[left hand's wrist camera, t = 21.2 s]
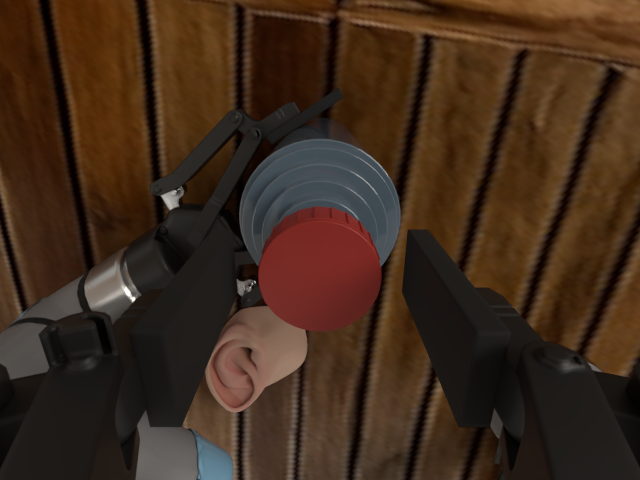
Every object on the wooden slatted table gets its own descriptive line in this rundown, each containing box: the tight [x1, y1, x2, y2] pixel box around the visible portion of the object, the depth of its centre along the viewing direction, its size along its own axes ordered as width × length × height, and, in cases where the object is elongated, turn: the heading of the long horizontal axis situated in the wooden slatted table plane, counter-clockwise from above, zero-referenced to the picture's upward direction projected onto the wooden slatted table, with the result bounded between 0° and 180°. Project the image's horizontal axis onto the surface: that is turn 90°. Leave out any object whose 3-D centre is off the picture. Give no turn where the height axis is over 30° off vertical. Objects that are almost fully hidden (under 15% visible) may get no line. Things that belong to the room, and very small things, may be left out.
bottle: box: [239, 118, 400, 266], centre depth 25 cm, size 8×8×25 cm
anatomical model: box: [205, 306, 307, 412], centre depth 43 cm, size 13×4×12 cm
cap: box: [258, 206, 382, 331], centre depth 14 cm, size 4×4×2 cm
